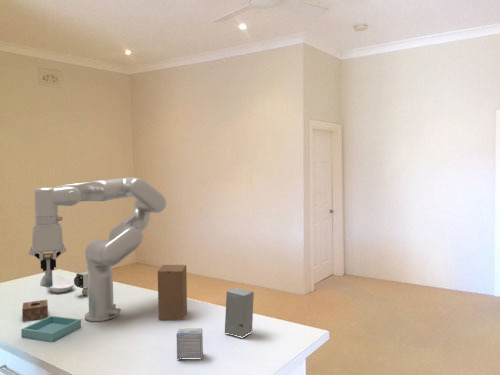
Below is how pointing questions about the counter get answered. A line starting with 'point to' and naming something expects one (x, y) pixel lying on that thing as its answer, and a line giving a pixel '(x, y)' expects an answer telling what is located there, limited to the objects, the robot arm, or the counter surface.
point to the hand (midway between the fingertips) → (48, 269)
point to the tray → (51, 328)
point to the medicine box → (189, 343)
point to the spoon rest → (58, 283)
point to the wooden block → (172, 292)
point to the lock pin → (48, 269)
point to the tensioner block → (35, 310)
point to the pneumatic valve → (82, 282)
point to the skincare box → (239, 312)
